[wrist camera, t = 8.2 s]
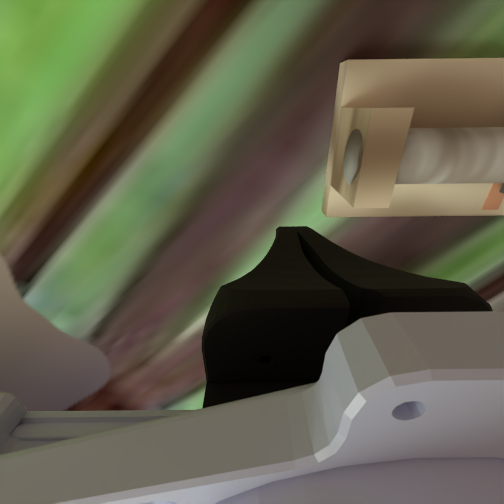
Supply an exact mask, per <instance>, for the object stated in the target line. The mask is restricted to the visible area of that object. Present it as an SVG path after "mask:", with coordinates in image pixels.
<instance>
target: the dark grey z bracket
mask: <svg viewBox="0 0 504 504" xmlns="http://www.w3.org/2000/svg"><path fill="white" fill-rule="evenodd" d="M499 192H500V193H503V194H504V183H503V184H502V187H501V189H500V191H499Z"/></svg>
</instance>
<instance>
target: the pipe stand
mask: <svg viewBox="0 0 504 504" xmlns="http://www.w3.org/2000/svg"><path fill="white" fill-rule="evenodd" d="M503 183H504V58H446V59H366V60H346V61H344V62H342V63H340V68H339V76H338V84H337V92H336V100H335V108H334V116H333V124H332V132H331V140H330V148H329V156H328V164H327V172H326V180H325V188H324V196H323V204H322V212H323V213H324V215H325V216H326V217H379V216H477V215H504V194H503V193H500V192H499V191H500V189H501V187H502V184H503Z"/></svg>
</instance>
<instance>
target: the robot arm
mask: <svg viewBox="0 0 504 504" xmlns="http://www.w3.org/2000/svg"><path fill="white" fill-rule="evenodd" d="M202 353H203V360H204V366H205V373H206V380H207V384H206V390H205V396H204V402H203V408H202V409H198V410H142V411H41V412H26V409H25V407H24V405H23V403H22V402H21V400H20V399H19V398H18V397H16V396H15V395H13V394H10V393H7V392H0V504H504V311H493V310H492V308H491V306H490V304H488V303H487V302H486V301H485V300H484V299H483V298H482V297H480V296H479V295H478V294H477V293H476V292H475V291H474V290H472V289H471V288H470V287H469V286H468V285H467V284H465V283H460V282H454V281H448V280H442V279H436V278H430V277H425V276H421V275H416V274H412V273H408V272H404V271H400V270H396V269H393V268H390V267H387V266H384V265H380V264H377V263H375V262H372V261H369V260H367V259H365V258H362V257H360V256H358V255H355V254H353V253H351V252H349V251H347V250H345V249H343V248H342V247H340V246H338V245H336V244H335V243H333V242H331V241H330V240H328V239H326V238H325V237H323V236H322V235H320V234H319V233H317V232H316V231H314V230H312V229H311V228H309V227H307V226H298V227H278V228H277V229H276V238H275V240H274V243H273V245H272V247H271V248H270V250H269V252H268V253H267V255H266V256H265V257H264V259H263V260H262V261H261V262H260V263H259V264H258V265H257V266H256V267H255V268H254V269H253V270H252V271H250V272H249V273H247V274H246V275H244V276H243V277H241V278H239V279H237V280H235V281H232V282H230V283H228V284H226V285H223V286H221V287H220V289H219V291H218V293H217V295H216V297H215V299H214V301H213V303H212V305H211V307H210V310H209V313H208V315H207V318H206V322H205V326H204V331H203V336H202Z"/></svg>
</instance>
